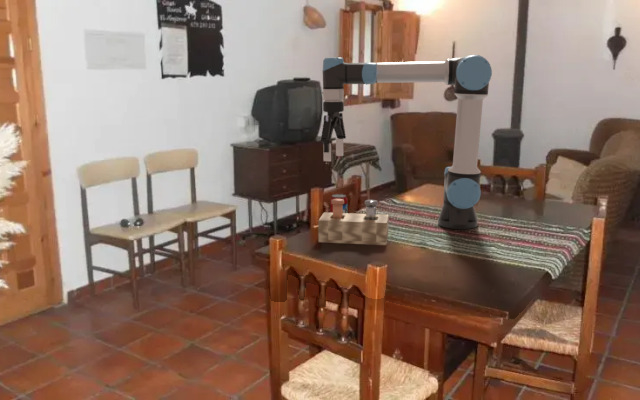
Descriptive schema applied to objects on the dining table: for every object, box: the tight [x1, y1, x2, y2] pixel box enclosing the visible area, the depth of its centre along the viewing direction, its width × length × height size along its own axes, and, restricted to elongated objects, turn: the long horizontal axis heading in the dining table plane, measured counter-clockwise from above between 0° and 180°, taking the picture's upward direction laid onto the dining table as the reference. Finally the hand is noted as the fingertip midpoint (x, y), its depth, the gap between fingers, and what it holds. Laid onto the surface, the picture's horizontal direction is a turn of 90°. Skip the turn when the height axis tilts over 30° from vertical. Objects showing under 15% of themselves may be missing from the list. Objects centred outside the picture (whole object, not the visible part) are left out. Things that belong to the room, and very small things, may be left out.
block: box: [317, 211, 390, 246], centre depth 218 cm, size 24×12×8 cm, turn 80°
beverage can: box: [329, 193, 349, 213], centre depth 236 cm, size 7×7×12 cm
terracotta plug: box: [331, 199, 344, 219], centre depth 218 cm, size 5×5×8 cm
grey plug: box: [364, 199, 379, 220], centre depth 216 cm, size 5×5×8 cm
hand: (333, 158), depth 225 cm, fingers open, 13 cm apart
